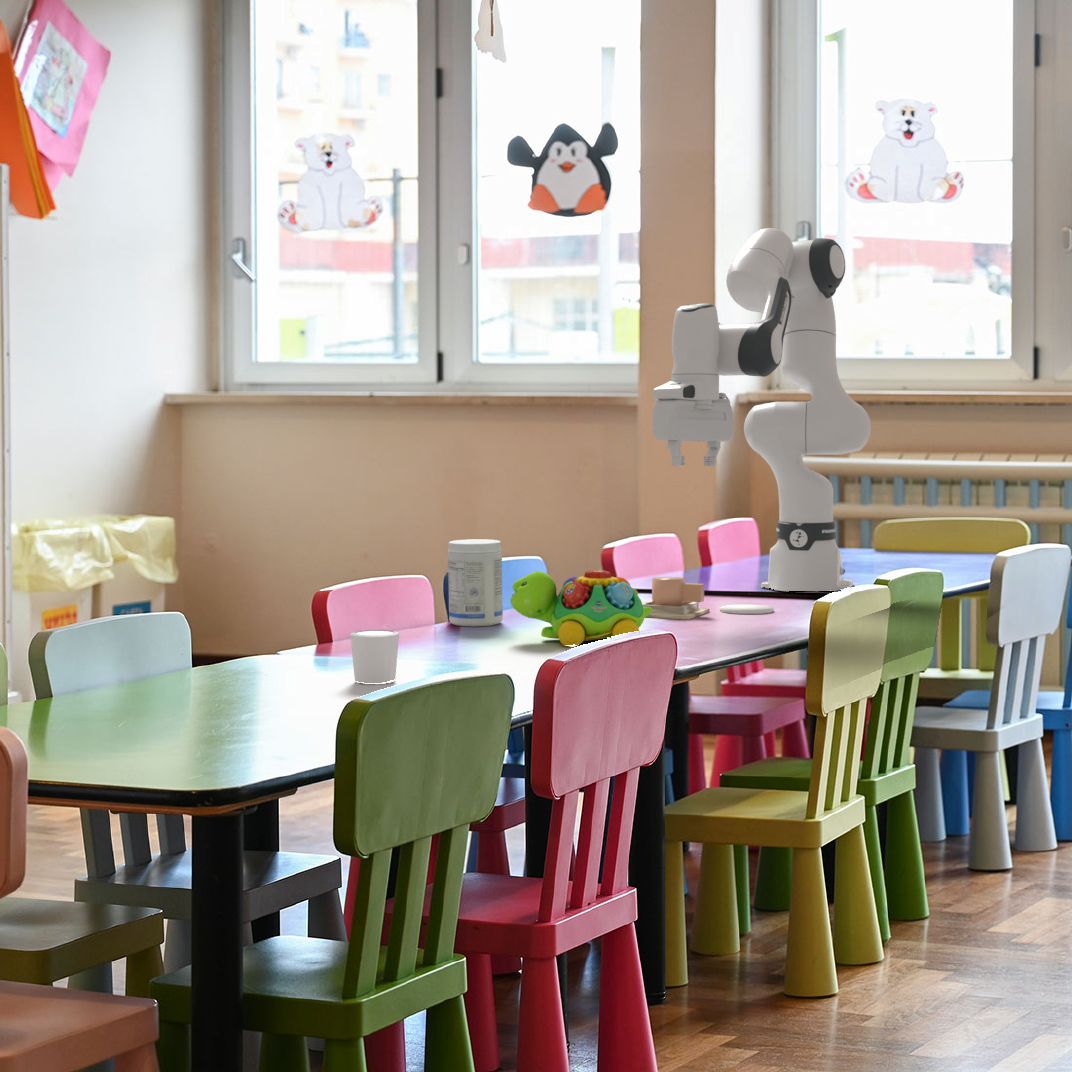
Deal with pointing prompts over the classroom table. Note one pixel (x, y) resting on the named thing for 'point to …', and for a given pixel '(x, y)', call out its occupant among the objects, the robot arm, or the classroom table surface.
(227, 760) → the classroom table surface
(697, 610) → the jug stand
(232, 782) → the classroom table surface
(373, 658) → the white cup
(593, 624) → the turtle toy
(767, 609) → the coaster
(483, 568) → the supplement tub
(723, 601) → the classroom table surface
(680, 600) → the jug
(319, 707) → the classroom table surface
